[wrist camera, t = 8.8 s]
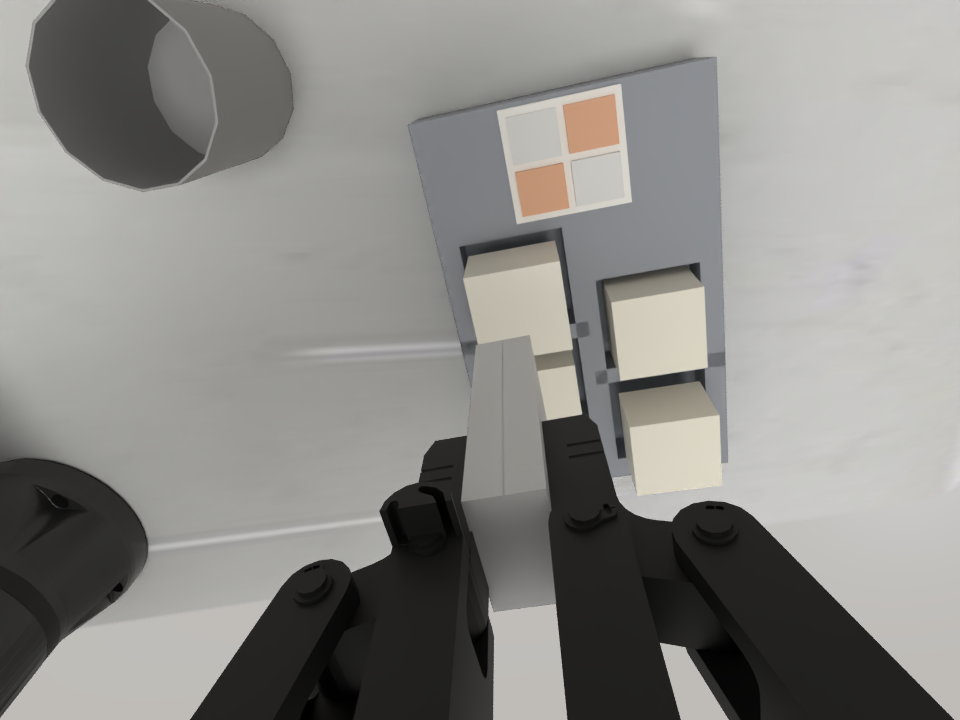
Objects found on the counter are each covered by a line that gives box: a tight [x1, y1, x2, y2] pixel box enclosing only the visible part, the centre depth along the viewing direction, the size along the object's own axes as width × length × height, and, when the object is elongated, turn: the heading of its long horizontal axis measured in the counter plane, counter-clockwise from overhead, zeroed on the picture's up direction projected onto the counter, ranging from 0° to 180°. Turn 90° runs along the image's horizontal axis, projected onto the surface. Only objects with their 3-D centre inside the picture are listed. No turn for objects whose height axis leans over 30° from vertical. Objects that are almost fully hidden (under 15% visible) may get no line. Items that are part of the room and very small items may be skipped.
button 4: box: [463, 240, 573, 356], centre depth 33 cm, size 5×5×4 cm
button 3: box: [602, 265, 708, 381], centre depth 35 cm, size 5×5×4 cm
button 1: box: [619, 381, 722, 496], centre depth 36 cm, size 5×5×4 cm
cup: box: [26, 0, 294, 192], centre depth 30 cm, size 8×8×10 cm
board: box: [408, 57, 728, 477], centre depth 37 cm, size 16×25×5 cm, turn 12°
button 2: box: [534, 350, 582, 420], centre depth 38 cm, size 5×5×4 cm
